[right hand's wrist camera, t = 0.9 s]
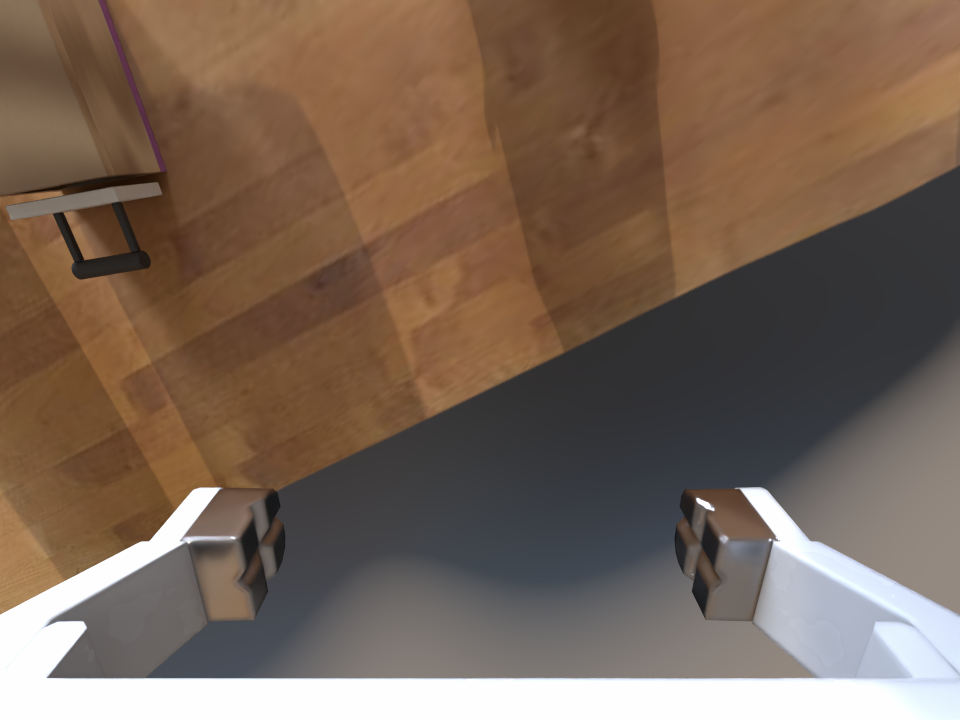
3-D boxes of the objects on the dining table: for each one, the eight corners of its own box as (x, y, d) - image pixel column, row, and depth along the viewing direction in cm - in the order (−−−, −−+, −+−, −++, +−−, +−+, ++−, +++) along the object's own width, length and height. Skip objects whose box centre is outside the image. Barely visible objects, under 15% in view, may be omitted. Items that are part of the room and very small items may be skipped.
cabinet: (166, 171, 51) (108, 176, 43) (60, 191, 52) (-18, 198, 44) (90, -39, 45) (4, -81, 37) (-31, -14, 46) (-141, -49, 38)
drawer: (186, 257, 53) (147, 271, 47) (94, 272, 54) (44, 289, 48) (92, 4, 45) (30, -19, 39) (-15, 26, 46) (-92, 7, 40)
